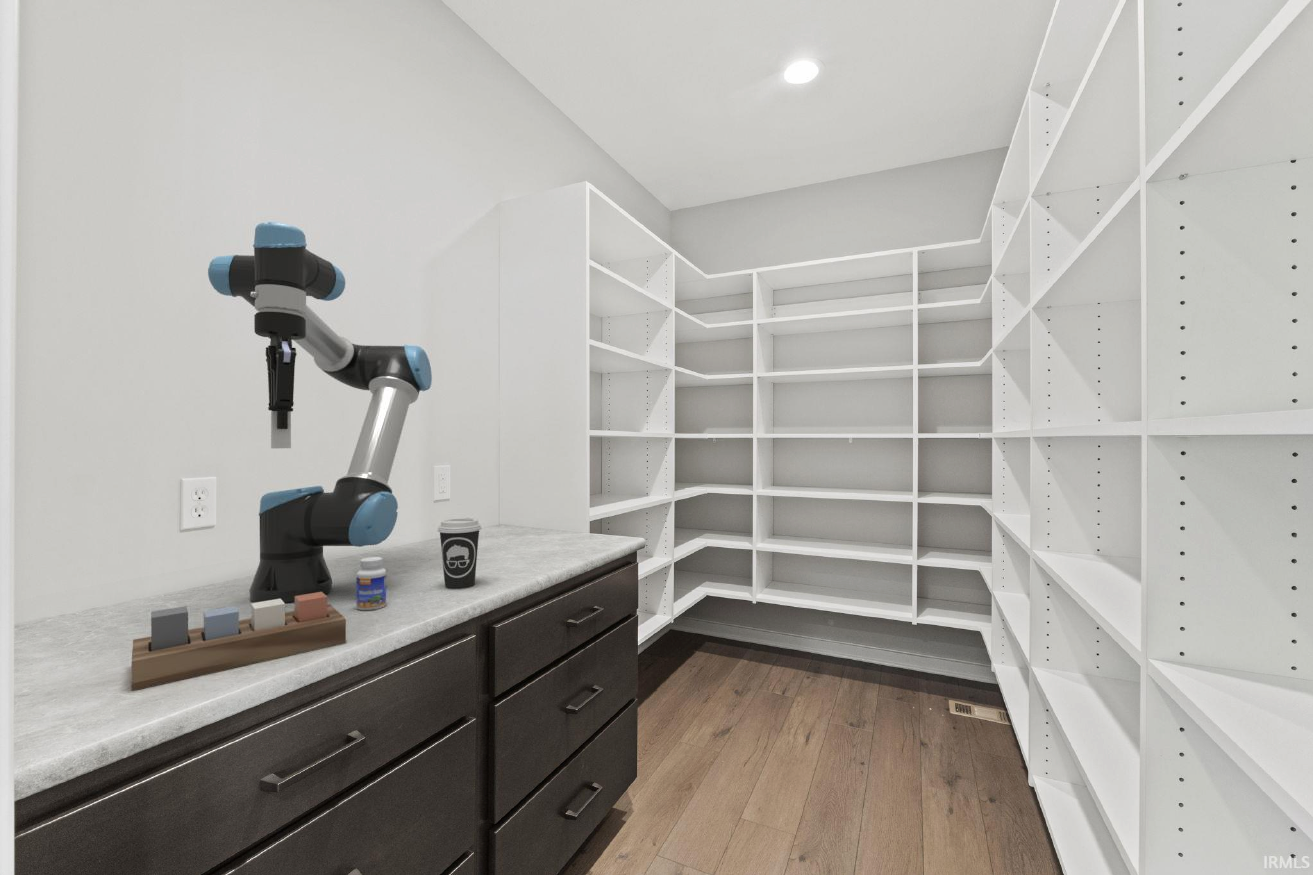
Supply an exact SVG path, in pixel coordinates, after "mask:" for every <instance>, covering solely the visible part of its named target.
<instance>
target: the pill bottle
mask: <svg viewBox="0 0 1313 875" xmlns="http://www.w3.org/2000/svg"><path fill="white" fill-rule="evenodd" d="M383 562H384V559H383V557H378V556H373V557H364V558H362V559H360V564H359V565H360V566H359V567H361V569H360V570H358V571H357V572H356V581H355V582H356V586H355V587H356V588H355V589H356V590H355V592H356V593H355V601H356V602H355V607H356V610H358V611H374V610H378V609H382V608H383V607H385V606H386V605H387V570H386V568H384V567H383V564H384V563H383Z"/></svg>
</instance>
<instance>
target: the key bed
mask: <svg viewBox="0 0 1313 875" xmlns="http://www.w3.org/2000/svg"><path fill="white" fill-rule="evenodd" d="M346 622H347V619H346V617H344V616H343V614H342V613H340V612H339V611H338V610H337V609H336V608H335V607H334V606H332V605H331V604H330V603H329V604H327V617H326V618H321V619H316V620H311V621H305V622H300V623H298V622H297V621H296V620H295V610H292V611H291V610H290V611H285V626H280V627H274V628H269V629H264V630H259V631H254V632H253V631H252V629H251V618H247V619H241V620H240V619H239V634H238V635H233V636H228V637H223V638H217V639H212V640H207V641H204V626H202V627H197V628H191V629H188V644H186V645H181V646H176V647H171V648H166V649H160V650H155V651H151V636H145V637H140V638H135V639H133V640H132V650H131V691H133V692H134V691H138V690H142V689H146V688H150V687H151V688H152V687H156V686H159V685H164V684H167V683H172V682H178V681H183V680H186V679H190V678H195V677H200V676H205V675H209V674H212V673H217V672H221V671H222V672H223V671H225V670H232V669H235V668H240V667H243V666H244V667H245V666H249V665H253V664H257V663H262V662H266V661H270V660H271V661H272V660H275V659H280V658H285V657H289V656H293V655H297V654H301V653H306V652H311V651H315V650H320V649H324V648H325V649H326V648H329V647H333V646H337V645H341V644H345V643H347V623H346Z"/></svg>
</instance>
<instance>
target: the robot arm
mask: <svg viewBox="0 0 1313 875" xmlns="http://www.w3.org/2000/svg"><path fill="white" fill-rule="evenodd" d="M306 239H307V238H306V235H305V233H304V232H303V230H301V229H300V228H299V227H296V226H294V225H291V224H288V223H283V222H276V221H275V222H274V221H265V222H259V223H258V224H257V225H256V226H255V229H254V240H253V245H252V246H253V255H241V254H240V255H239V254H233V255H222V256H221V255H220V256H216V257H214V258H213V259H212V260H211V261H210V263H209V265H208V268H207V271H208V272H207V276H208V279H209V282H210V285H211V286H212V288H213V289H214V290H215V291H216V292H217V293H218V294H220V295H223V296H229V297H233V298H237V297H241V298H243V299H244V300H245V301H246V302H248V303H249V304H250V305H251V306H252V307H254V309H255V310H256V311H257V312H256V313H255V314H254V317H253V318H254V319H253V320H254V326H253V327H254V328H253V329H254V333H255V335H257V336H259V337H262V338H268V339H270V343H269V345H268V346H266V347H265V357H266V359H265V362H266V367H267V368H266V369H267V382H268V383H267V385H268V386H267V387H268V407H267V410H268V411H270V422H271V423H270V449H292V431H291V430H292V424H291V422H292V415H291V414H292V412H293V411H294V408H293V407H294V405H295V403H294V393H295V392H294V391H295V390H294V389H295V388H294V387H295V368H296V367H295V366H296V365H295V364H296V358H297V354H298V353H297V349H296V347H293V341H294V342H295V343H296V344H298V346H300V348H302V349H303V350H304V351H305V352H307V353H308V354H309V355H310V356H311V357H313V361H314V363H315V365H316V366H317V367H318V368H319V369H320V370H321V371H323V372H324V373H325V374H327V375H328V376H330V377H331V378H333V379H334V380H336V381H339V383H342V384H344V385H346V386H349V387H352V388H354V389H358V390H362V391H369V392H370V393H371V394H372V395H371V399H370V402H369V405H368V408H367V411H366V415H365V418H364V420H363V423H362V427H361V431H360V433H359V436H358V439H357V441H356V445H355V449H354V451H353V455H352V458H351V461H350V463H349V467H348V469H347V473H346V475H344V476H342V477H340V478H338V479H337V480H336V482H335V486H334V488H333V491H332V492H325V489H324V488H323V486H321V485H317V486H308V487H307V486H306V487H301V488H294V489H286V490H278V491H272V492H268V493H265V494H263V495H262V496H261V497H260V498H261V499H260V502H259V512H258V516H259V563H258V566H257V569H256V571H255V574H254V577H253V581H252V582H251V585H250V588H249V601H250V602H251V603H256V602H263V601H269V600H275V599H281V600H282V601H283V602H284V603H285V604H286V603H291V602H295V596H299V595H305V594H311V593H317V592H323V593H324V594H325V595H326V594H327V593H329V592H331V591H332V590H333V579H332V578H333V577H332V575H331V572H330V570H329V567H328V565H327V564H328V563H326V559H325V557H324V547H359V548H360V547H365V546H377V545H380V544H382V542H384V541H386V540H387V539H388V538H389V536H390V535H391V534H392V532H393V530H394V529H395V526H396V522H397V519H398V509H399V507H398V506H399V505H398V501H397V497H396V496H395V495H394V494H393V489H392V488H391V486H390V484H388V483H389V480H390V475H391V473H392V472H391V471H392V468H393V465H394V460H395V457H396V454H397V449H398V446H399V443H400V440H401V435H402V432H403V428H404V425H405V421H406V417H407V414H408V411H409V410H408V409H409V407H410V405H411V404H413V403H415V402H416V401H417V400H418V398H419V394H420V391H421V392H426V391H428V390H430V388H431V386H432V383H433V382H432V381H433V380H432V379H433V377H432V368H431V364H430V360H429V356H428V355H427V353H426V351H425V350H424V349H423V348H422V347H421V346H418V345H407V344H404V345H363V344H361V345H360V344H355V343H352V342H351V341H350V340H349V339H348V338H347V337H344V336H339V335H338V334H337V333H336V332H335V331H334V330H333V329H332V328H331V327H330V326H329V325H328V324H327V323H325V321H324V320H323V319H322V318H320V317H319V316H318V315H317V313H315V312H314V311H313V309H312V308H311V307H309V306H308V305H307V297H312V298H314V299H316V300H322V301H327V302H328V301H334V300H336V299H338V298H339V297H340V296H342V294H343V293H344V290H345V288H346V278H345V275H344V273H343V272H342V271H341V270H340V268H338V267H337V266H336V265H334V264H333V263H332V262H331V261H329V260H327V259H325V258H322V257H321V256H320V255H319V256H318V255H316V254H315V253H313V252H311V251H310V250H309V249H307V245H308V244H307V240H306Z"/></svg>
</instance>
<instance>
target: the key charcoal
mask: <svg viewBox="0 0 1313 875" xmlns="http://www.w3.org/2000/svg"><path fill="white" fill-rule="evenodd" d="M150 615H151V619H150V620H151V621H150V626H151V627H150V628H151V630H150V632H151V633H150V634H151V636H150V637H151V651H155V650H160V649H166V648H171V647H176V646H181V645H186V644H188V630H189V610H188V606H187V605H184V606H177V607H172V608H165V609H160V610H153V611H150Z"/></svg>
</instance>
